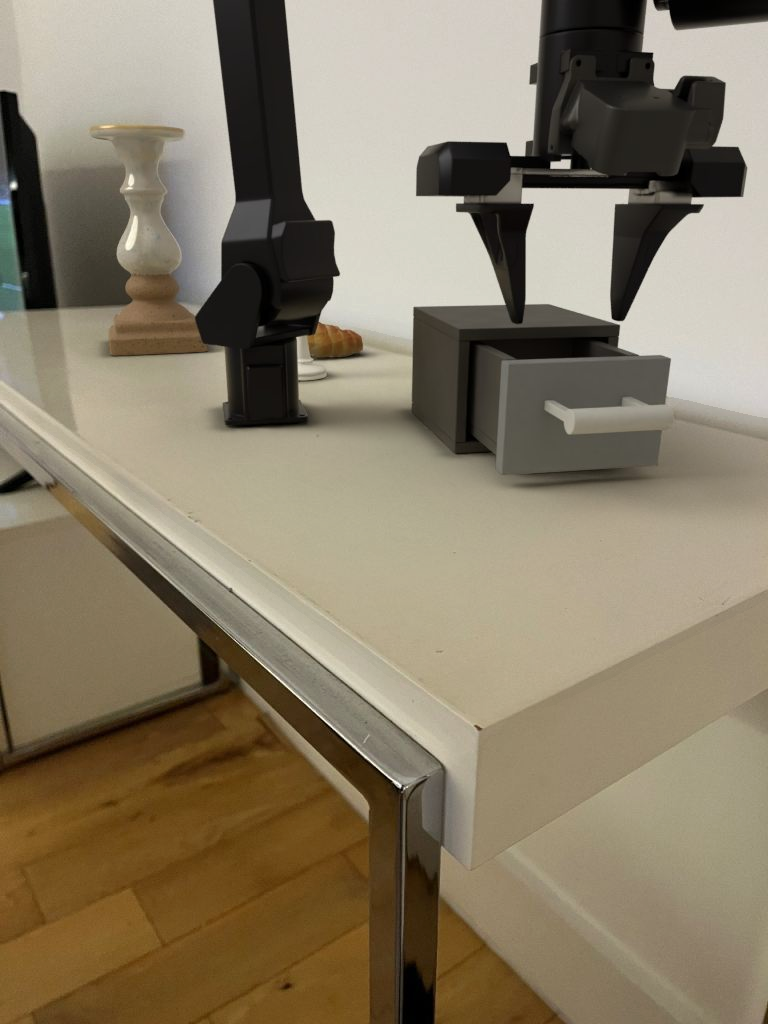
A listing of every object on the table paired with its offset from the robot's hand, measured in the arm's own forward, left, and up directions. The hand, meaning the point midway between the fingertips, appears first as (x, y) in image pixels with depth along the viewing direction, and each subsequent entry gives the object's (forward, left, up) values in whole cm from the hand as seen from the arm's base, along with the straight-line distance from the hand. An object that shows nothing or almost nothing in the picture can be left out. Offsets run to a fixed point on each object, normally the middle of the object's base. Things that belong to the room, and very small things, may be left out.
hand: (567, 321), depth 52 cm
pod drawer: (+1, 0, -8) cm, 9 cm away
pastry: (-45, -10, -10) cm, 47 cm away
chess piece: (-33, -13, -10) cm, 37 cm away
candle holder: (-54, -28, -10) cm, 62 cm away
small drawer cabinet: (-10, 0, -9) cm, 14 cm away
